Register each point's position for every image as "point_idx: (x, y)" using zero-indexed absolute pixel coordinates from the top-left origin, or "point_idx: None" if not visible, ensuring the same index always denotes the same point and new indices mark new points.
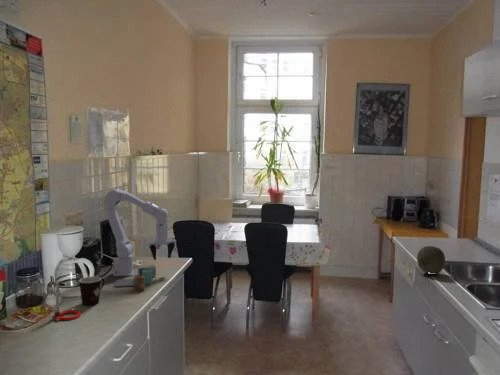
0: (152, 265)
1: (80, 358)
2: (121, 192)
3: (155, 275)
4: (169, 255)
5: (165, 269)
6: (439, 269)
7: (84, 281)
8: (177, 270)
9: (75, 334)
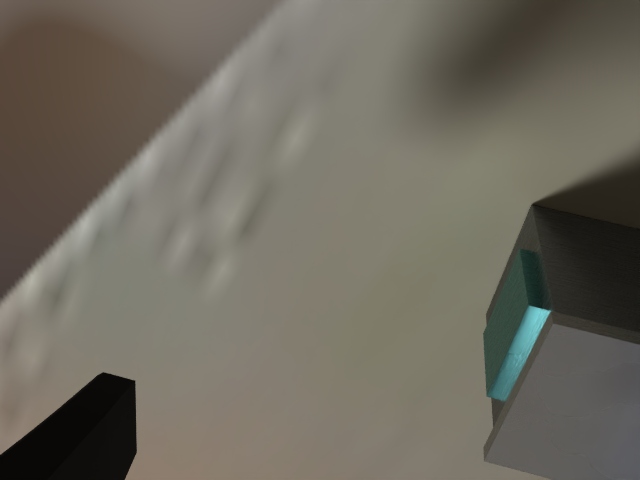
0: (564, 417)
1: None
2: None
3: (535, 218)
4: (85, 439)
5: (208, 385)
6: None
7: None
8: (75, 256)
9: None
